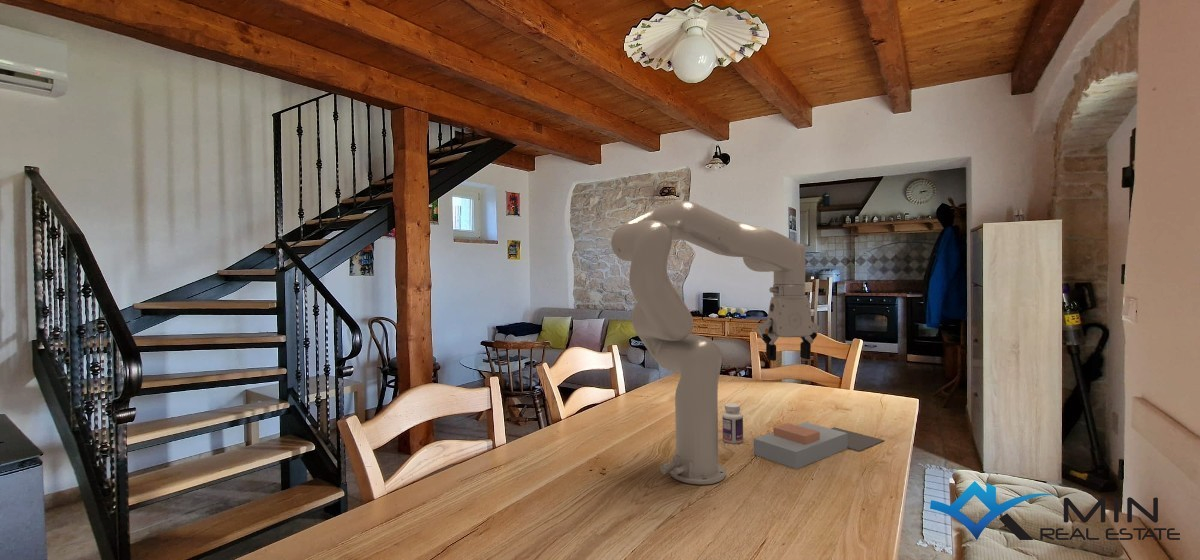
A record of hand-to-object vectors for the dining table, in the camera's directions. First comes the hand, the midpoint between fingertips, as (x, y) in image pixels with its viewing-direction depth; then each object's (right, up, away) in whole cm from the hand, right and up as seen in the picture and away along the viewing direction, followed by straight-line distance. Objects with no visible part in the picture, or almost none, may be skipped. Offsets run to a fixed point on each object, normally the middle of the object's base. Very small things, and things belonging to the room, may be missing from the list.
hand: (788, 359), depth 130 cm
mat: (+19, -23, +8) cm, 31 cm away
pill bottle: (-12, -24, +9) cm, 28 cm away
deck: (+3, -23, 0) cm, 24 cm away
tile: (+2, -19, -1) cm, 20 cm away
